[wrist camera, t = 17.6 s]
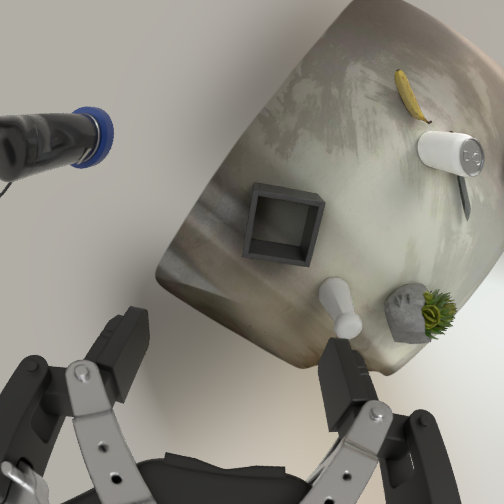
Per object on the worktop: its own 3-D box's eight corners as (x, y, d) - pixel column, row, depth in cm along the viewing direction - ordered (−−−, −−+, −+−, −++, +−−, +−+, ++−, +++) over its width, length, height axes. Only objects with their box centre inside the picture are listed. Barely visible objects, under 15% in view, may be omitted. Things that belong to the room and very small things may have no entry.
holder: (244, 242, 46) (242, 257, 41) (254, 182, 42) (253, 189, 37) (303, 251, 47) (309, 267, 41) (317, 193, 43) (325, 202, 37)
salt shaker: (309, 290, 50) (323, 336, 38) (330, 266, 48) (350, 309, 36) (332, 304, 51) (349, 350, 39) (352, 282, 49) (375, 326, 37)
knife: (466, 218, 43) (475, 223, 40) (461, 221, 43) (470, 226, 40) (447, 129, 36) (457, 130, 34) (442, 131, 37) (451, 132, 34)
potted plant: (380, 286, 45) (455, 264, 39) (383, 297, 56) (445, 280, 49) (390, 353, 40) (469, 331, 34) (392, 351, 51) (455, 334, 44)
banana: (383, 75, 34) (394, 71, 30) (393, 70, 33) (404, 66, 30) (414, 127, 37) (427, 127, 33) (423, 121, 36) (436, 121, 33)
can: (443, 167, 39) (485, 180, 28) (416, 165, 40) (457, 178, 29) (443, 133, 37) (486, 138, 26) (415, 129, 37) (457, 131, 26)
